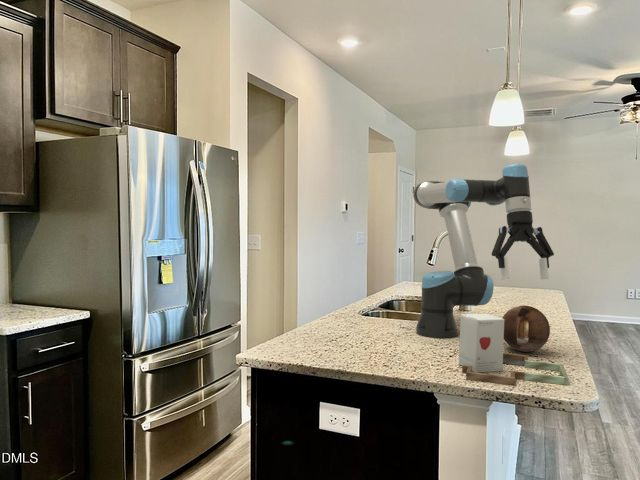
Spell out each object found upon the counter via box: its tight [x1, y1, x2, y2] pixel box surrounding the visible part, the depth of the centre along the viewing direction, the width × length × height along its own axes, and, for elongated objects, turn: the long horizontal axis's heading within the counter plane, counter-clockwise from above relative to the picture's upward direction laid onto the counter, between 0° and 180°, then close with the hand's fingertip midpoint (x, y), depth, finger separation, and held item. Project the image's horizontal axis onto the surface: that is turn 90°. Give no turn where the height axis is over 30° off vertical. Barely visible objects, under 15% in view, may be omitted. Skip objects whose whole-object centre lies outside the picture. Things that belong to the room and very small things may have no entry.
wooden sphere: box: [502, 305, 551, 353], centre depth 160 cm, size 15×15×15 cm
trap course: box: [461, 352, 570, 386], centre depth 137 cm, size 26×26×2 cm
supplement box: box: [458, 313, 505, 373], centre depth 140 cm, size 9×9×15 cm
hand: (525, 279), depth 151 cm, fingers open, 13 cm apart
